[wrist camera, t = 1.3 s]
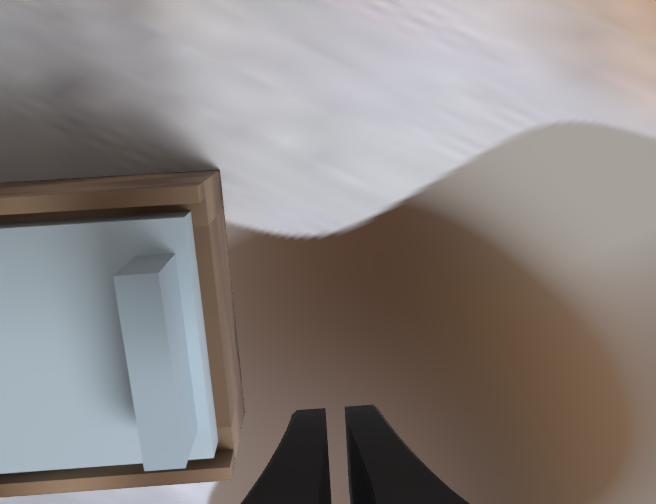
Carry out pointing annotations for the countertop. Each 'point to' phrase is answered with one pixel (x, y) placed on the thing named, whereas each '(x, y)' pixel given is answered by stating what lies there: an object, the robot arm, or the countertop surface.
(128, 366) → the cover plate
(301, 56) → the countertop surface
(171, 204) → the walnut box
